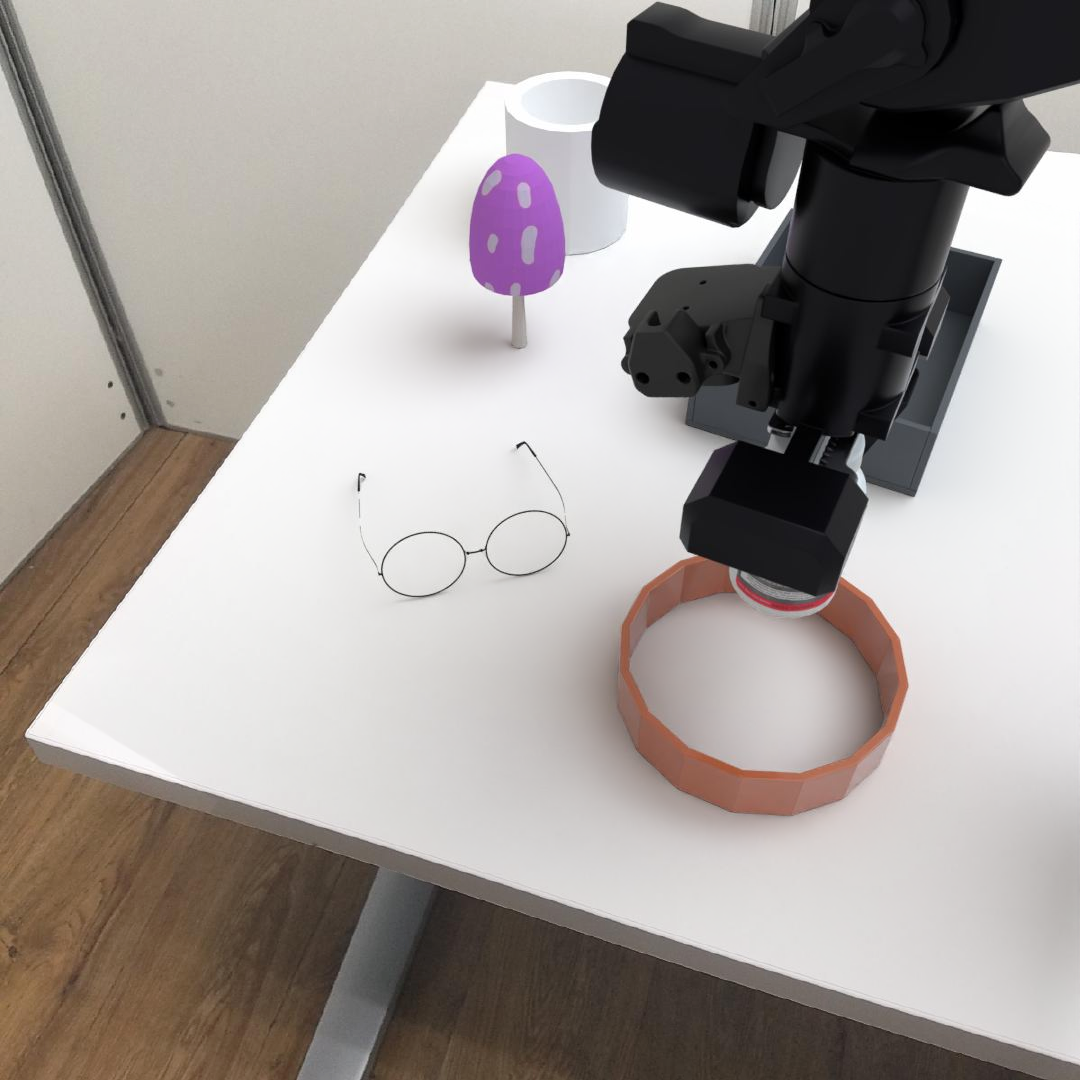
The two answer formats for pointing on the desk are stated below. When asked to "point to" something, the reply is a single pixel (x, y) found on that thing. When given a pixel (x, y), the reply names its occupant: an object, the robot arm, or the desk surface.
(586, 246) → the mug
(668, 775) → the ring
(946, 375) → the bin
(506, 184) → the toy
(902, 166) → the robot arm
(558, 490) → the eyeglasses
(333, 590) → the desk surface
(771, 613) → the pill bottle
